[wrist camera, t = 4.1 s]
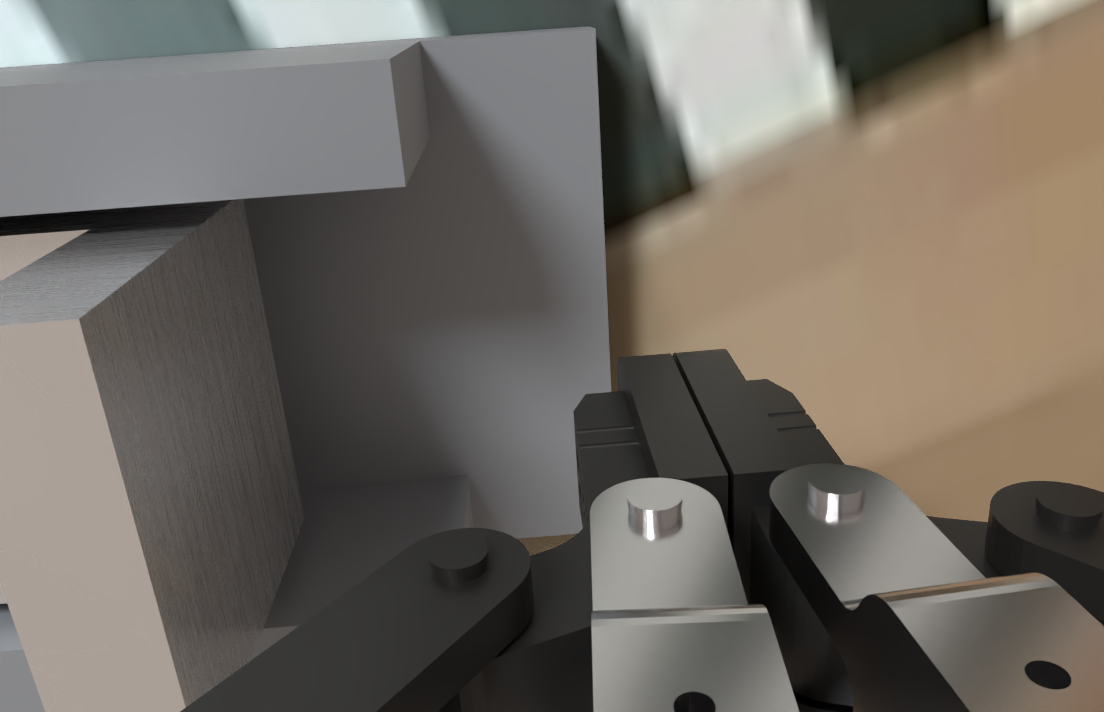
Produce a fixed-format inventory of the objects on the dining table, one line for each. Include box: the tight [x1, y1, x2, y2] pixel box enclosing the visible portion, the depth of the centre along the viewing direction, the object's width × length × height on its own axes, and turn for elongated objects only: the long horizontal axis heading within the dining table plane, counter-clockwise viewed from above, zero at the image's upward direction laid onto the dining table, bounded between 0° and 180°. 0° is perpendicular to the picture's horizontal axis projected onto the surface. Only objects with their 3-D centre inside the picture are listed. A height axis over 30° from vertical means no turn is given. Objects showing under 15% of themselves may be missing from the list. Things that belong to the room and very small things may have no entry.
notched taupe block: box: [0, 199, 304, 712], centre depth 13 cm, size 6×7×8 cm
